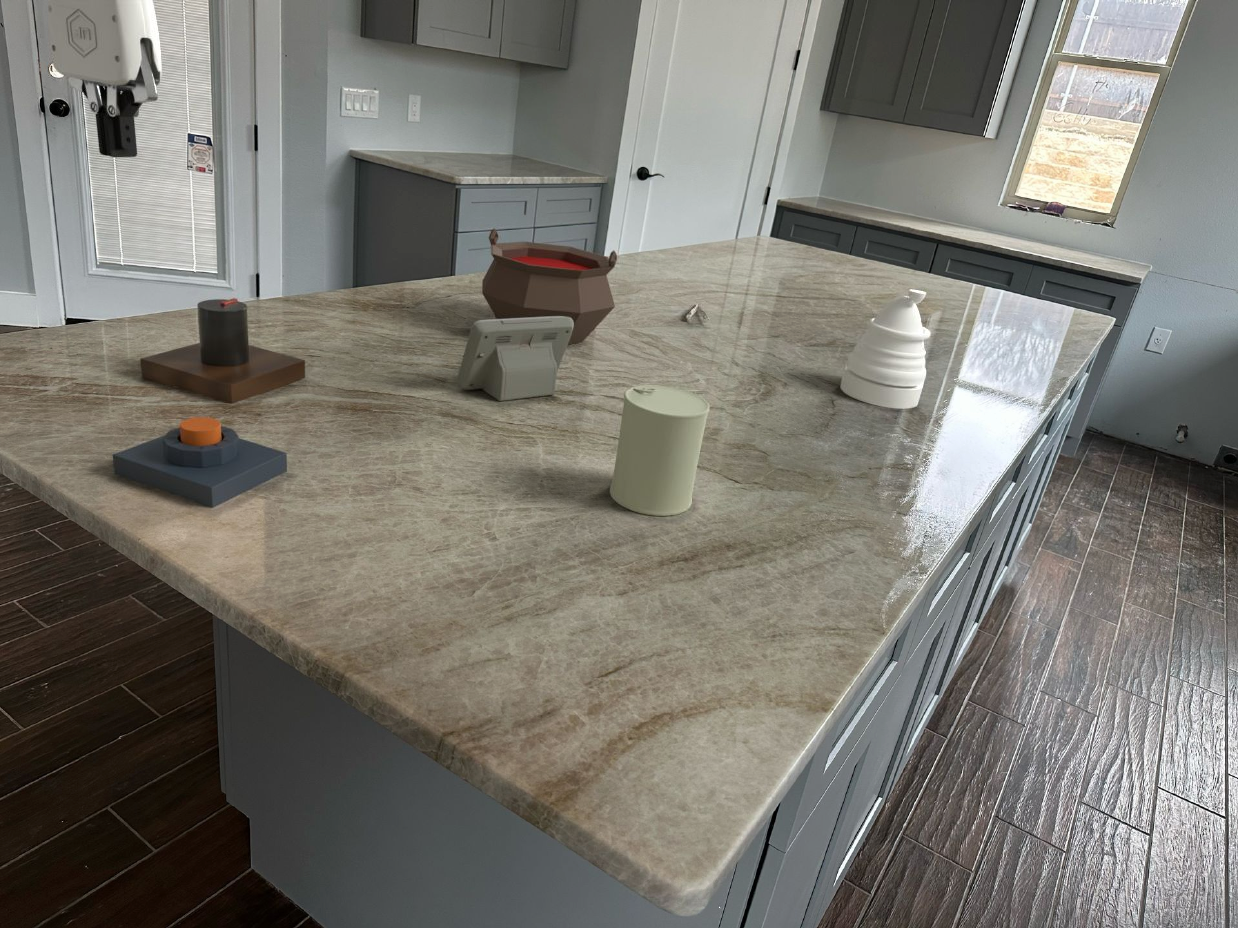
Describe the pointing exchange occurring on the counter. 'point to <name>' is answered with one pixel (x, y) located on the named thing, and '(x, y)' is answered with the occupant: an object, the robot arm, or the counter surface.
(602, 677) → the counter surface
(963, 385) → the counter surface
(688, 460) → the can
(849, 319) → the counter surface
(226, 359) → the dark grey cylinder
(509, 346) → the digital clock
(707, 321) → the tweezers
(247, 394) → the swivel stand
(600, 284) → the brown cauldron
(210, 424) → the alarm button
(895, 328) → the honey pot
